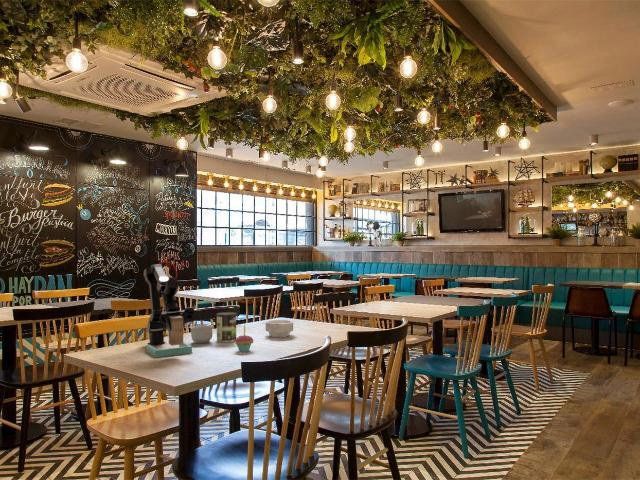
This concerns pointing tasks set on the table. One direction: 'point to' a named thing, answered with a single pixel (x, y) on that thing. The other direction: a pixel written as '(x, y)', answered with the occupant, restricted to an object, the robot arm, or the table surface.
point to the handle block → (176, 330)
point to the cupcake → (244, 342)
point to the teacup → (201, 333)
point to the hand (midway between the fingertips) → (176, 329)
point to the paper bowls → (279, 327)
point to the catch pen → (170, 350)
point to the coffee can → (226, 326)
